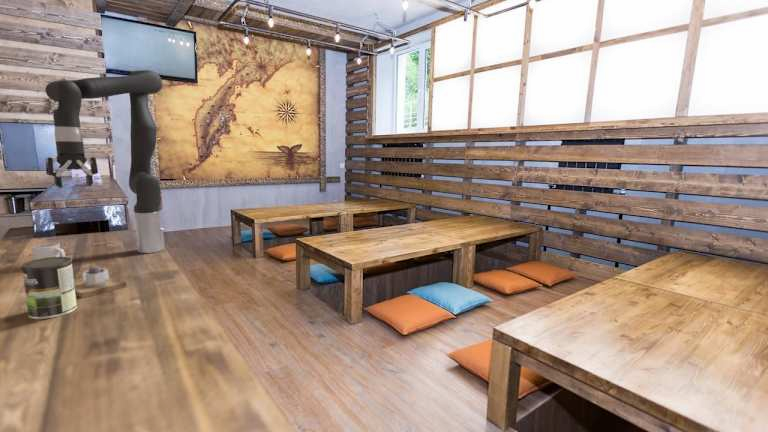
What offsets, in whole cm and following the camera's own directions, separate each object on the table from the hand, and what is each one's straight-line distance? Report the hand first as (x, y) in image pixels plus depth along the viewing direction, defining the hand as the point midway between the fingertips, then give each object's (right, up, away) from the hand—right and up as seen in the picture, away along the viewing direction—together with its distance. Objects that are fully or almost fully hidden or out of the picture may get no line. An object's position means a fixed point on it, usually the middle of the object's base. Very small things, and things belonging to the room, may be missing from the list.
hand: (74, 186), depth 137 cm
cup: (-14, -29, +7) cm, 33 cm away
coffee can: (+20, -37, -32) cm, 53 cm away
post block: (+19, -33, -14) cm, 41 cm away
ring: (+19, -32, -15) cm, 40 cm away
